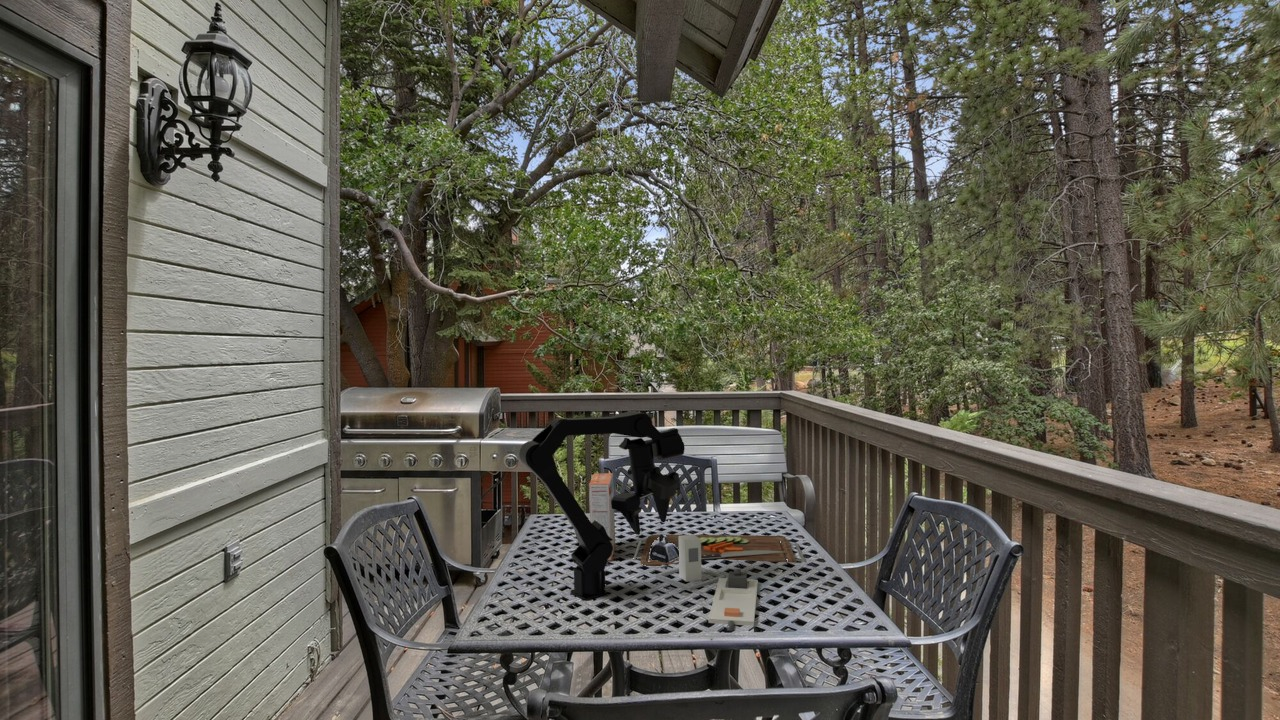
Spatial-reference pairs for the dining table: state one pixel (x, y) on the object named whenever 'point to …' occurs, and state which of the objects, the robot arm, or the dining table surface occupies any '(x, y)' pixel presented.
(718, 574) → the tray
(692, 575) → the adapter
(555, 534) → the dining table surface
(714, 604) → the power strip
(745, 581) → the black plug
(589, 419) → the robot arm
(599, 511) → the cracker box
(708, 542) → the chopping board
